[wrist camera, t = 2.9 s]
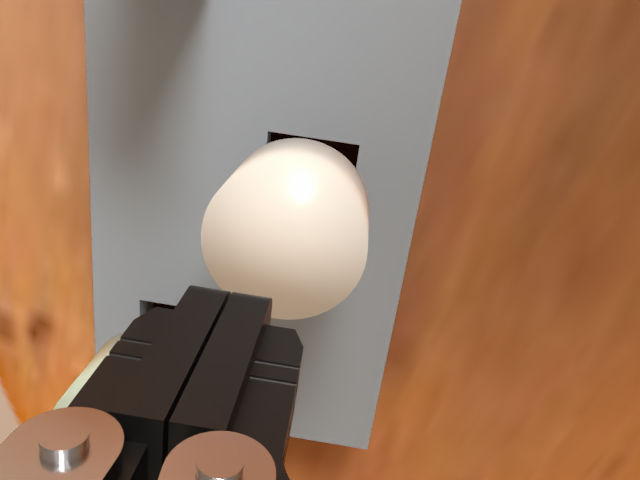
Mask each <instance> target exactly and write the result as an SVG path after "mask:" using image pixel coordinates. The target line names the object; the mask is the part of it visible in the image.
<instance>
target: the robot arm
mask: <svg viewBox="0 0 640 480" xmlns="http://www.w3.org/2000/svg"><path fill="white" fill-rule="evenodd" d="M271 312H272V298H268V297H262V296H256V295H250V294H244V293H238V292H232V293H231V292H230V291H225V290H219V289H212V288H206V287H200V286H194V285H190V286H189V287H188V289H187V290H186V292H185V293H184V295H183V296H182V298H181V299H180V301H179V302H178V304H177V305H176V307H175V308H174V310H173V309H167V308H161V307H155V308H153V309H151V310H150V311H148V312H146V313H144V314H143V315H141V316H139V317H137V318H136V319H134V320H133V321H132V323H131V324H130V325H129V326H128V328H127V329H126V330H125V332H124V333H123V334H122V336H121V338H120V341H117V342H116V344H115V345H114V346H113V348H112V349H111V350H110V351H109V355H108V356H107V355H106V357H105V358H104V359H103V361H102V362H101V363H100V365H99V366H98V367H97V369H96V370H95V371H94V373H93V374H92V375H91V377H90V378H89V379H88V380H87V382H86V383H85V384H84V386H83V387H82V388H81V390H80V391H79V392H78V394H77V395H76V396H75V398H74V399H73V400H72V402H71V403H70V404H69V405H68V407H65V408H59V409H55V410H51V411H47V412H44V413H42V414H39V415H37V416H35V417H33V418H31V419H29V420H27V421H26V422H24V423H23V424H21V425H20V426H19V427H18V428H17V429H15V430H14V431H13V432H12V433H11V434H10V435H9V436H8V437H7V438H6V439H5V440H4V441H3V442H2V443H1V444H0V480H290V479H289V477H288V475H287V473H286V471H285V467H284V463H285V457H286V452H287V447H288V441H289V436H290V431H291V425H292V420H293V415H294V408H295V401H296V395H297V388H298V381H299V375H300V368H301V361H302V355H303V348H304V347H303V345H302V343H301V341H300V339H299V336H298V334H297V332H296V330H295V329H290V328H284V327H278V326H272V325H270V321H271Z"/></svg>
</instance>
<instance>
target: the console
mask: <svg viewBox="0 0 640 480" xmlns="http://www.w3.org/2000/svg"><path fill="white" fill-rule="evenodd" d="M461 2H462V0H84V10H85V42H86V74H87V106H88V138H89V169H90V201H91V233H92V265H93V297H94V329H95V355H96V354H97V353H98V351H99V350H100V349H101V348H102V347H103V345H104V344H105V343H106V342H107V341H109V340H110V339H111V338H113V337H115V336H116V335H119V334H121V333H124V332H125V330H126V329H127V328H128V326H129V325H130V324H131V323H132V321H133V320H134V319H136V318H137V317H139V316H141V315H143V314H144V313H146V312H148V311H150V310H151V309H153V302H156V303H162V304H168V305H174V306H176V305H177V304H178V302H179V301H180V299H181V298H182V296H183V295H184V293H185V292H186V290H187V289H188V287H189V286H190V285H194V286H200V287H206V288H212V289H219V290H221V288H220V287H219V286H218V285H217V283H216V282H215V281H214V279H213V277H212V276H211V274H210V272H209V270H208V268H207V266H206V263H205V260H204V257H203V253H202V247H201V227H202V221H203V217H204V214H205V211H206V209H207V207H208V204H209V203H210V201H211V200H212V198H213V196H214V195H215V194H216V193H217V191H218V190H219V189H220V188H221V187H222V186H223V184H224V183H225V182H226V181H227V180H228V179H229V177H230V176H231V175H232V174H233V173H234V172H235V170H236V169H237V168H238V167H239V166H240V165H241V163H242V162H243V161H244V160H245V159H246V158H247V157H248V156H249V155H250V154H251V153H252V152H254V151H255V150H257V149H258V148H260V147H261V146H263V145H266V144H268V143H270V141H271V132H276V133H282V134H289V135H296V136H302V137H309V138H316V139H322V140H329V141H336V142H342V143H349V144H356V145H359V151H358V158H357V164H356V169H357V171H358V172H359V174H360V175H361V177H362V179H363V182H364V184H365V187H366V190H367V193H368V199H369V234H368V254H367V261H366V265H365V269H364V271H363V274H362V276H361V279H360V280H359V282H358V284H357V285H356V287H355V288H354V289H353V291H352V292H351V293H350V294H349V295H348V296H347V297H346V298H345V299H344V300H343V301H342V302H341V303H339V304H338V305H337V306H335V307H334V308H332V309H330V310H328V311H326V312H324V313H322V314H319V315H317V316H313V317H309V318H304V319H296V320H284V319H275V318H271V321H270V325H272V326H278V327H284V328H290V329H295V330H296V332H297V334H298V336H299V339H300V341H301V343H302V345H303V347H304V348H303V355H302V361H301V368H300V375H299V381H298V388H297V395H296V401H295V408H294V415H293V420H292V425H291V431H290V436H289V437H295V438H301V439H307V440H313V441H319V442H325V443H331V444H337V445H342V446H348V447H354V448H360V449H366V450H367V449H368V444H369V439H370V435H371V430H372V425H373V420H374V416H375V411H376V406H377V401H378V397H379V392H380V387H381V382H382V378H383V373H384V368H385V363H386V359H387V354H388V349H389V344H390V340H391V335H392V330H393V325H394V321H395V316H396V311H397V306H398V302H399V297H400V292H401V287H402V283H403V278H404V273H405V268H406V264H407V259H408V254H409V249H410V245H411V240H412V235H413V230H414V226H415V221H416V216H417V211H418V207H419V202H420V197H421V192H422V188H423V183H424V178H425V173H426V169H427V164H428V159H429V154H430V150H431V145H432V140H433V135H434V131H435V126H436V121H437V116H438V112H439V107H440V102H441V97H442V93H443V88H444V83H445V78H446V74H447V69H448V64H449V59H450V55H451V50H452V45H453V40H454V36H455V31H456V26H457V21H458V17H459V12H460V7H461Z"/></svg>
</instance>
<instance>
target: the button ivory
mask: <svg viewBox="0 0 640 480" xmlns="http://www.w3.org/2000/svg"><path fill="white" fill-rule="evenodd" d="M368 234H369V199H368V193H367V190H366V187H365V184H364V182H363V179H362V177H361V175H360V174H359V172H358V171H357V169H356V168H355V167H354V165H353V164H352V163H351V162H350V161H349V160H348V159H347V158H346V157H345V156H344V155H343V154H341V153H340V152H338V151H337V150H336V149H334V148H332V147H330V146H328V145H326V144H324V143H321V142H318V141H315V140H310V139H305V138H286V139H281V140H276V141H273V142H270V143H268V144H266V145H263V146H261V147H260V148H258V149H257V150H255V151H254V152H252V153H251V154H250V155H249V156H248V157H247V158H246V159H245V160H244V161H243V162H242V163H241V165H240V166H239V167H238V168H237V169H236V170H235V172H234V173H233V174H232V175H231V176H230V177H229V179H228V180H227V181H226V182H225V183H224V184H223V186H222V187H221V188H220V189H219V190H218V191H217V193H216V194H215V195H214V196H213V198H212V200H211V201H210V203H209V204H208V207H207V209H206V211H205V214H204V217H203V221H202V227H201V247H202V253H203V257H204V260H205V263H206V266H207V268H208V270H209V272H210V274H211V276H212V277H213V279H214V281H215V282H216V283H217V285H218V286H219V287H220V288H221V290H225V291H230V292H231V293H232V292H238V293H244V294H250V295H256V296H262V297H268V298H272V312H271V318H275V319H284V320H296V319H304V318H309V317H313V316H317V315H319V314H322V313H324V312H326V311H328V310H330V309H332V308H334V307H335V306H337V305H338V304H339V303H341V302H342V301H343V300H344V299H345V298H346V297H347V296H348V295H349V294H350V293H351V292H352V291H353V289H354V288H355V287H356V285H357V284H358V282H359V280H360V279H361V276H362V274H363V271H364V269H365V265H366V261H367V254H368Z"/></svg>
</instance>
